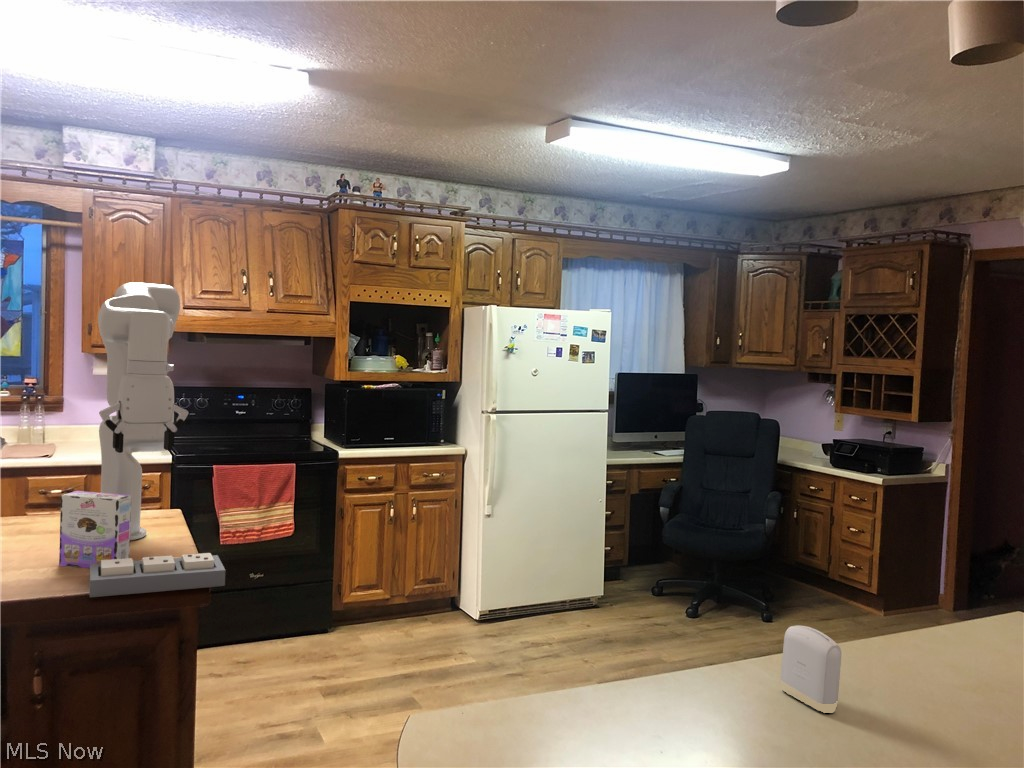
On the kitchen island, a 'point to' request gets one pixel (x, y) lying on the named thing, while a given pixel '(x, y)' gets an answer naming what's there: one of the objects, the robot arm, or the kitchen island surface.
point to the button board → (155, 579)
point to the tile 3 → (197, 561)
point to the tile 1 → (117, 566)
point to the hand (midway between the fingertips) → (143, 450)
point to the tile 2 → (158, 564)
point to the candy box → (94, 528)
